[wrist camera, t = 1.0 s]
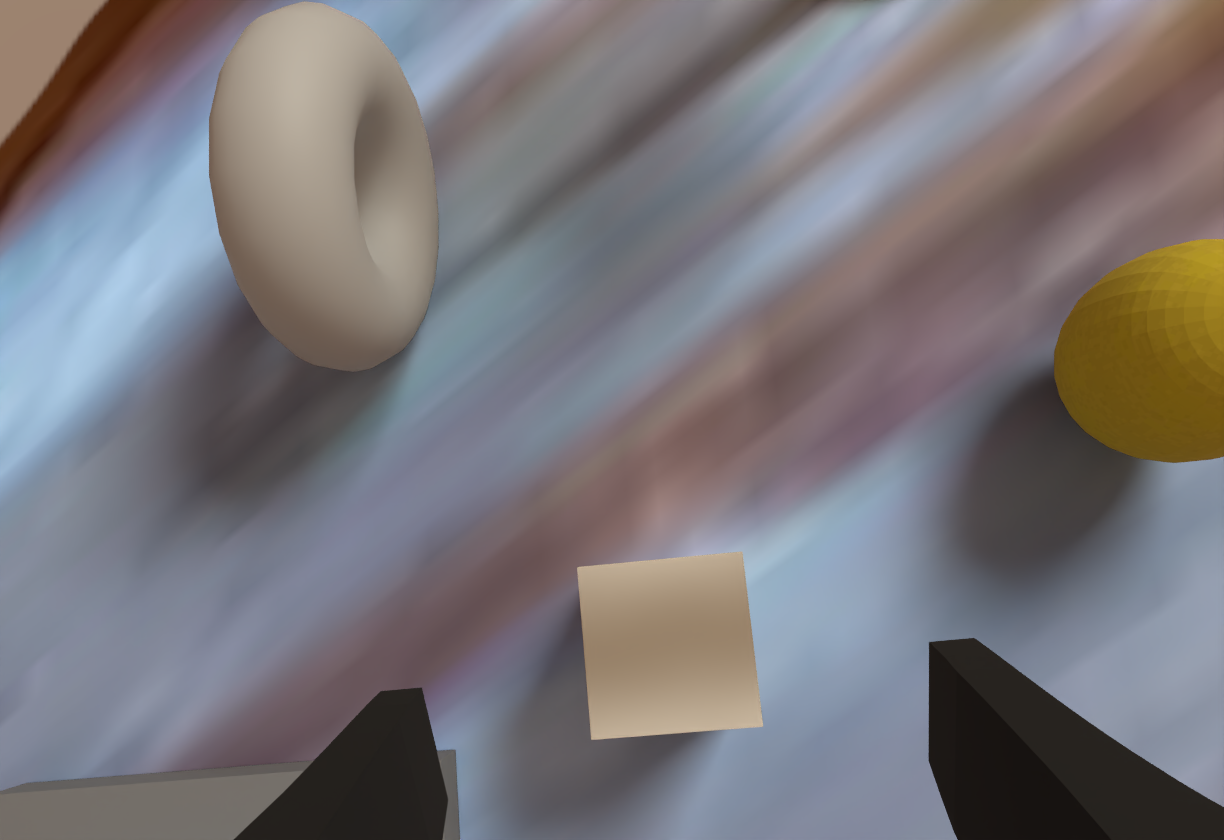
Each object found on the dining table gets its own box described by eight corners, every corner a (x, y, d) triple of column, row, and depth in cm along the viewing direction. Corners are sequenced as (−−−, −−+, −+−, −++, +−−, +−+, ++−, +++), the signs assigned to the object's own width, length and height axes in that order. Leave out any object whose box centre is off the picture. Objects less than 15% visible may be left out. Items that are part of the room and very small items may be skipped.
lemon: (1011, 470, 26) (1152, 423, 18) (1014, 297, 26) (1148, 180, 19) (1205, 486, 25) (1440, 444, 17) (1199, 308, 26) (1420, 191, 18)
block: (746, 690, 25) (763, 726, 19) (614, 701, 25) (591, 740, 20) (731, 556, 26) (742, 551, 20) (603, 568, 26) (577, 567, 20)
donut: (362, 130, 30) (200, -88, 20) (456, 125, 29) (339, -98, 20) (344, 404, 28) (156, 312, 18) (444, 403, 28) (307, 307, 18)
